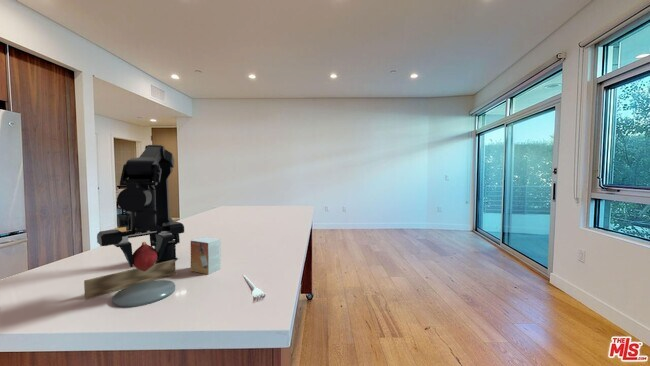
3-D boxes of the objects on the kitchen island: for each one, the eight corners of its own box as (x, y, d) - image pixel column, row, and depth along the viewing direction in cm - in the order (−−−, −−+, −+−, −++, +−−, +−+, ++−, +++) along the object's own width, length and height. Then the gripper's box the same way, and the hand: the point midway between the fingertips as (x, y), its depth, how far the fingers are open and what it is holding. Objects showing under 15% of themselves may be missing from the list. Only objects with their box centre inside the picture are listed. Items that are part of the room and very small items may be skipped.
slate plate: (164, 279, 82) (164, 276, 82) (183, 292, 73) (183, 289, 73) (107, 295, 71) (106, 292, 71) (120, 313, 62) (120, 309, 62)
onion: (162, 268, 73) (162, 240, 73) (142, 276, 68) (141, 245, 68) (147, 266, 75) (146, 238, 75) (126, 273, 70) (125, 243, 70)
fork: (248, 276, 86) (248, 270, 86) (269, 299, 69) (268, 292, 69) (238, 278, 84) (238, 272, 84) (256, 303, 67) (256, 296, 67)
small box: (190, 271, 88) (189, 240, 88) (203, 266, 94) (203, 236, 93) (208, 274, 85) (207, 242, 85) (221, 269, 91) (220, 238, 90)
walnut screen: (173, 272, 87) (173, 259, 87) (176, 274, 86) (175, 260, 86) (84, 296, 71) (83, 279, 70) (85, 299, 69) (85, 282, 69)
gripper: (169, 201, 83) (170, 250, 84) (91, 207, 69) (93, 266, 70) (184, 204, 76) (185, 257, 77) (100, 211, 62) (103, 277, 62)
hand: (144, 263), depth 72 cm, fingers closed on onion, 6 cm apart
